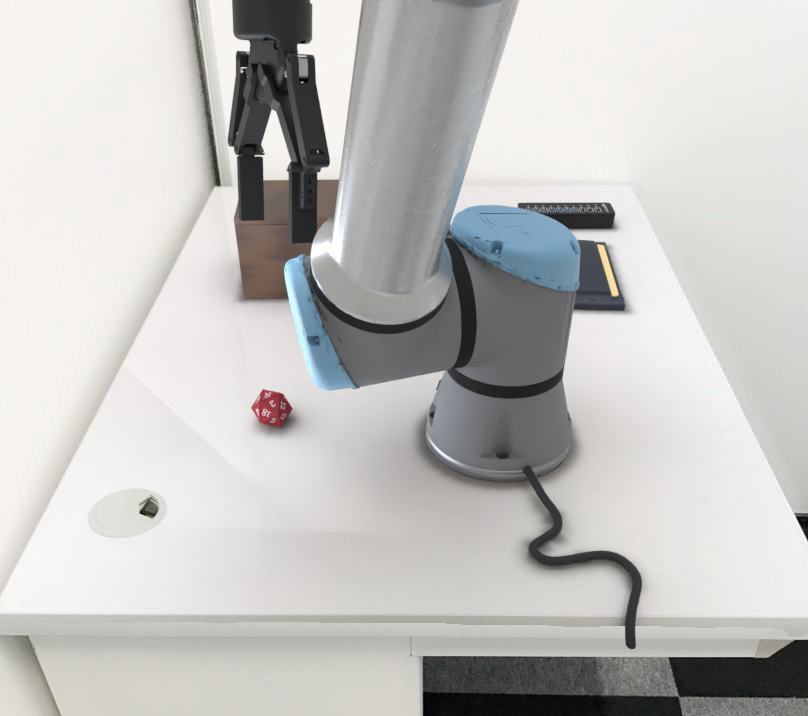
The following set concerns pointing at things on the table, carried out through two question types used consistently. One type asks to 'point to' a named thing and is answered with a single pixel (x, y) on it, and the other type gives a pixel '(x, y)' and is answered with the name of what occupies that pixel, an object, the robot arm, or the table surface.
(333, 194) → the brown wooden box
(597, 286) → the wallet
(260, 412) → the dice
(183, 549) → the table surface
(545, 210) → the multiport hub
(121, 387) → the table surface
